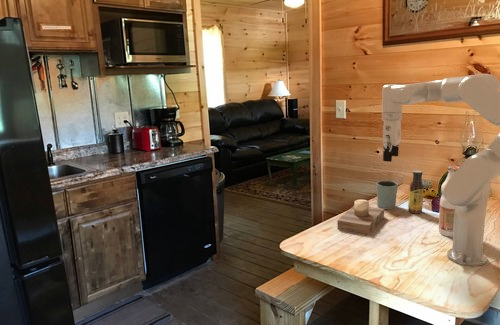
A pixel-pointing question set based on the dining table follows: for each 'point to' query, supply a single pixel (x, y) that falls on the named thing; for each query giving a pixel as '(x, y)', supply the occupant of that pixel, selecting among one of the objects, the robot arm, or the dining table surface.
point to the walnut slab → (360, 220)
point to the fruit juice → (447, 208)
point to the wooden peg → (361, 208)
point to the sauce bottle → (416, 193)
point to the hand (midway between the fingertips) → (390, 158)
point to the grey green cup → (386, 194)
